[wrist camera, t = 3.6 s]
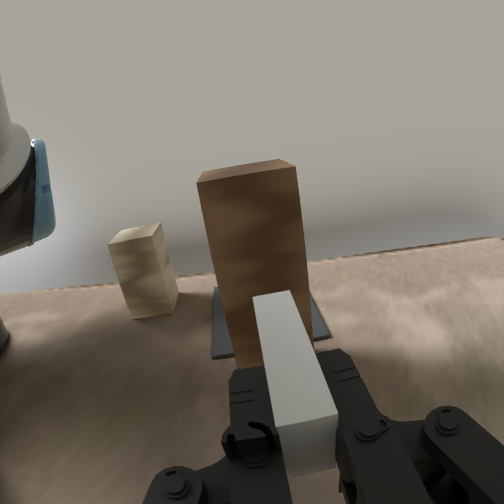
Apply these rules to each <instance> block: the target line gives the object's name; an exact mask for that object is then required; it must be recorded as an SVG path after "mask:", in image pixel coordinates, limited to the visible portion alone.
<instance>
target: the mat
mask: <svg viewBox="0 0 504 504" xmlns="http://www.w3.org/2000/svg"><path fill="white" fill-rule="evenodd" d="M310 304H311V316H312V329H313V341H315V340H319V339H324V338H328V337H329V333H328V331H327V329H326V327H325V325H324V323H323V321H322V319H321V317H320V315H319V313H318V311H317V309H316V307H315V305H314V303H313V301H312V299H311V297H310ZM228 356H234V352H233V348H232V343H231V339H230V335H229V331H228V327H227V323H226V318H225V314H224V310H223V306H222V301H221V297H220V292H219V288H218V287H214V305H213V328H212V359H215V358H222V357H228Z"/></svg>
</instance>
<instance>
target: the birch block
mask: <svg viewBox="0 0 504 504" xmlns="http://www.w3.org/2000/svg"><path fill="white" fill-rule="evenodd" d="M108 249H109V252H110V255H111V258H112V262H113V265H114V268H115V271H116V274H117V277H118V280H119V284H120V287H121V289H122V292H123V295H124V298H125V301H126V304H127V307H128V309H129V312H130V315H131V318H132V319H138V318H145V317H152V316H159V315H166V314H172V313H174V310H175V306H176V302H177V298H178V294H179V291H178V287H177V283H176V280H175V276H174V273H173V269H172V265H171V261H170V257H169V253H168V250H167V246H166V242H165V238H164V234H163V230H162V225H161V222H159V223H154V224H149V225H145V226H140V227H135V228H130V229H126V230H121V231H120V232H119V233H118V234H117V235H116V236H115V237H114V238H113V239H112V240H111V241H110V242H109V243H108Z"/></svg>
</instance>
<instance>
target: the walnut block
mask: <svg viewBox="0 0 504 504" xmlns="http://www.w3.org/2000/svg"><path fill="white" fill-rule="evenodd" d="M197 188H198V193H199V198H200V203H201V208H202V213H203V218H204V223H205V228H206V233H207V238H208V242H209V247H210V251H211V256H212V261H213V265H214V270H215V275H216V279H217V284H218V288H219V292H220V297H221V301H222V306H223V310H224V314H225V318H226V323H227V327H228V331H229V335H230V339H231V343H232V348H233V352H234V356H235V360H236V364H237V368H238V369H244V368H250V367H256V366H261V365H264V360H263V354H262V348H261V343H260V337H259V331H258V326H257V320H256V314H255V309H254V303H253V297H255V296H260V295H266V294H271V293H277V292H282V291H287V290H290V292H291V295H292V297H293V300H294V302H295V305H296V307H297V310H298V312H299V315H300V317H301V320H302V322H303V325H304V327H305V330H306V332H307V335H308V337H309V340H310V342H311V345H312V347H313V350H314V343H313V329H312V316H311V304H310V292H309V281H308V270H307V260H306V252H305V241H304V232H303V223H302V214H301V206H300V198H299V190H298V182H297V174H296V167H295V166H294V165H291V164H289V163H287V162H285V161H283V160H280V159H276V160H270V161H263V162H257V163H250V164H244V165H239V166H233V167H227V168H221V169H216V170H211V171H205V172H203V173H202V174H201V176H200V178H199V179H198V181H197Z"/></svg>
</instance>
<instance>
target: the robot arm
mask: <svg viewBox="0 0 504 504" xmlns="http://www.w3.org/2000/svg"><path fill="white" fill-rule="evenodd" d="M55 225H56V221H55V212H54V205H53V198H52V192H51V188H50V179H49V170H48V162H47V155H46V148H45V143H44V142H43V141H42V140H34V139H33V140H31V141H30V138H29V135H28V133H27V131H26V130H25V129H24V128H23V127H22V126H20V125H18V124H16V123H12V122H11V121H10V117H9V113H8V109H7V105H6V101H5V96H4V92H3V87H2V83H1V77H0V256H2V255H5V254H8V253H10V252H13V251H15V250H18V249H21V248H24V247H26V246H31V245H33V244H34V242H37V241H39V240H41V239H44V238H46V237H48V236H49V235H51V234H52V232H53V231H54V229H55ZM253 303H254V309H255V314H256V320H257V326H258V331H259V337H260V343H261V348H262V354H263V360H264V365H261V366H256V367H250V368H244V369H237V370H234V372H233V374H232V376H231V378H230V380H229V395H230V396H229V400H230V422H231V425H230V426H229V427H228V428H227V429H226V431H225V432H224V433H223V435H222V440H221V444H222V446H223V449H224V451H225V453H226V455H225V457H224V458H222V459H221V460H220V461H219V462H217V463H215V464H213V465H211V466H208V467H205V468H202V469H200V470H197V471H193V470H192V469H190V468H187V467H184V466H173V467H170V468H167V469H164V470H162V471H161V472H160V473H158V474H157V475H156V476H155V478H154V479H153V481H152V482H151V485H150V487H149V489H148V492H147V494H146V496H145V499H144V501H143V504H292V499H291V494H290V489H289V484H288V479H287V478H289V477H294V476H299V475H304V474H309V473H313V472H318V471H322V470H326V469H330V468H334V467H336V462H337V465H338V468H339V471H340V477H339V493H340V492H342V491H343V494H344V498H345V501H346V504H504V445H502V444H501V443H500V442H499V441H498V440H497V439H496V438H494V437H493V436H492V435H491V434H490V433H489V432H487V431H486V430H485V429H484V428H483V427H482V426H480V425H479V424H478V423H477V422H476V421H475V420H473V419H472V418H471V417H470V416H469V415H468V414H466V413H465V412H464V411H462V410H461V409H459V408H457V407H452V406H443V407H439V408H436V409H434V410H432V411H431V412H430V413H429V414H428V415H427V417H426V419H425V420H420V421H408V422H399V421H394V420H391V419H389V418H388V417H386V416H384V415H382V414H381V413H380V412H379V410H378V409H377V407H376V405H375V403H374V401H373V399H372V398H371V396H370V394H369V392H368V390H367V388H366V386H365V384H364V382H363V380H362V378H361V377H360V374H359V372H358V370H357V369H356V367H355V365H354V363H353V361H352V359H351V357H350V356H349V355H348V354H346V353H345V352H344V351H342V350H341V349H340V348H339V349H334V350H330V351H326V352H321V353H317V354H315V352H314V350H313V347H312V345H311V342H310V340H309V337H308V335H307V332H306V330H305V327H304V325H303V322H302V320H301V317H300V315H299V312H298V310H297V307H296V305H295V302H294V300H293V297H292V295H291V292H290V290H287V291H282V292H277V293H271V294H266V295H260V296H255V297H253ZM7 339H8V332H7V329H6V327H5V325H4V323H3V321H2V319H1V318H0V352H1V351H2V349H3V348H4V346H5V344H6V342H7Z"/></svg>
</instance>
